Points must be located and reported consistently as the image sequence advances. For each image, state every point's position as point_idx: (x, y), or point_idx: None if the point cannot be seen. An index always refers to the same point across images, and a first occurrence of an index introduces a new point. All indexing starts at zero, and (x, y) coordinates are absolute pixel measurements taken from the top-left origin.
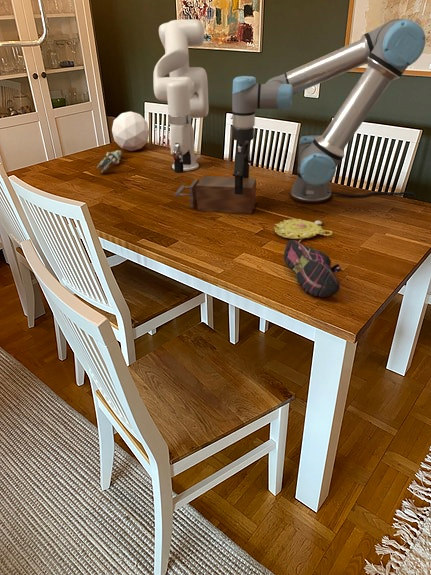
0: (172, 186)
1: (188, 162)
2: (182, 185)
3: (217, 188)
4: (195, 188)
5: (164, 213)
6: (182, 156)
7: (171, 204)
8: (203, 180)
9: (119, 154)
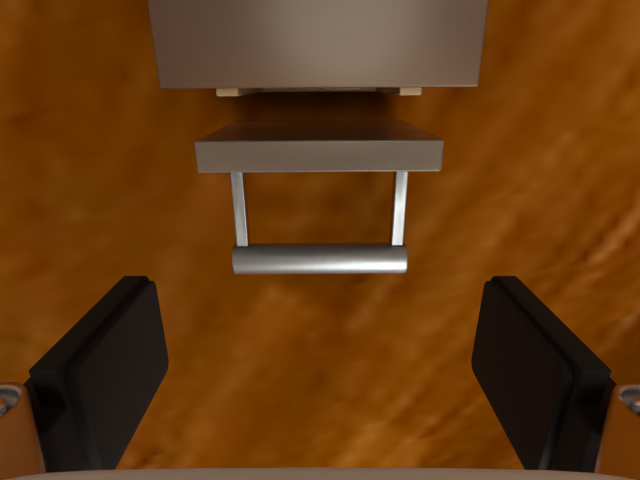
0: None
1: (146, 315)
2: (241, 265)
3: None
4: (326, 133)
5: (461, 272)
6: (618, 463)
7: (328, 274)
8: (311, 44)
9: None
